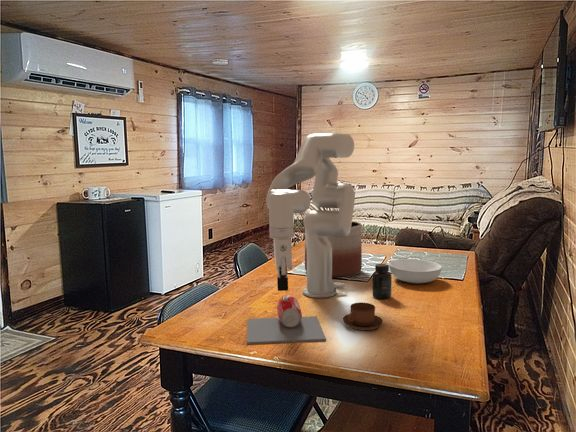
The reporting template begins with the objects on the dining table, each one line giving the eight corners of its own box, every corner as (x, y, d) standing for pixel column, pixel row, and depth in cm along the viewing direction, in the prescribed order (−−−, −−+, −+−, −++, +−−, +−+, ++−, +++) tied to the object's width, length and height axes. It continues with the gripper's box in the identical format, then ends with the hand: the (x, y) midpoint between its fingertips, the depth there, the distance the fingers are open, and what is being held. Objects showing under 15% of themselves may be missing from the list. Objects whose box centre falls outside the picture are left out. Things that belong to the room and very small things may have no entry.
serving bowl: (385, 284, 178) (385, 268, 177) (393, 272, 197) (393, 257, 196) (439, 290, 170) (440, 272, 169) (442, 276, 189) (443, 261, 188)
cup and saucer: (373, 336, 126) (374, 315, 125) (336, 328, 132) (336, 308, 132) (388, 323, 136) (388, 304, 135) (352, 316, 142) (352, 297, 142)
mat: (316, 317, 141) (316, 316, 141) (326, 340, 123) (326, 338, 123) (247, 320, 139) (247, 318, 139) (247, 344, 121) (247, 342, 121)
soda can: (302, 306, 142) (307, 319, 130) (285, 319, 142) (288, 334, 130) (289, 289, 141) (292, 301, 129) (272, 303, 141) (274, 316, 129)
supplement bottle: (393, 295, 163) (393, 263, 162) (389, 300, 157) (389, 267, 156) (374, 293, 166) (375, 262, 165) (370, 298, 160) (370, 266, 159)
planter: (355, 264, 212) (356, 219, 209) (367, 279, 186) (367, 227, 184) (302, 265, 211) (302, 220, 208) (307, 280, 185) (306, 228, 183)
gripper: (296, 236, 128) (297, 297, 131) (291, 227, 143) (292, 282, 146) (270, 237, 128) (271, 298, 130) (268, 228, 143) (269, 283, 145)
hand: (282, 289), depth 138 cm, fingers closed
